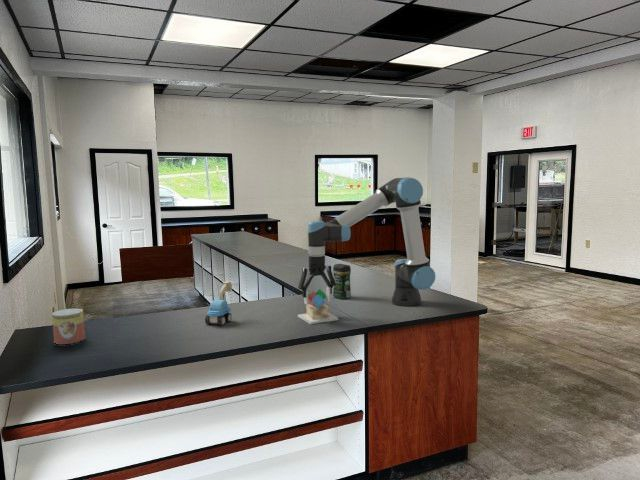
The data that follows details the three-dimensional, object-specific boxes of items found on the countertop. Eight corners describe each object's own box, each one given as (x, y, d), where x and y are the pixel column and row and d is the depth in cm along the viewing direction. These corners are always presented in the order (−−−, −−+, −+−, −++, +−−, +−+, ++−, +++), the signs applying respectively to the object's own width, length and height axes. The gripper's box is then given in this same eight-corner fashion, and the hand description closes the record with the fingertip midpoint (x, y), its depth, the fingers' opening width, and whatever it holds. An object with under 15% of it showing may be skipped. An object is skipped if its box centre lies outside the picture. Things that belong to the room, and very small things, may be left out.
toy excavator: (239, 317, 226) (238, 281, 224) (220, 327, 210) (219, 288, 208) (223, 315, 229) (222, 280, 227) (203, 325, 213) (202, 287, 211)
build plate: (324, 312, 231) (324, 310, 231) (338, 319, 218) (338, 317, 218) (297, 316, 224) (297, 314, 224) (310, 324, 212) (310, 322, 212)
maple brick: (322, 313, 226) (322, 302, 226) (328, 317, 219) (328, 306, 218) (306, 315, 223) (306, 304, 223) (312, 319, 216) (312, 308, 215)
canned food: (52, 346, 187) (50, 316, 185) (55, 338, 197) (53, 310, 196) (84, 342, 191) (82, 313, 190) (86, 334, 201) (84, 307, 200)
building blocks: (319, 314, 223) (317, 305, 213) (307, 302, 226) (305, 292, 216) (331, 303, 226) (330, 293, 215) (319, 291, 229) (318, 281, 218)
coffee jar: (330, 297, 263) (330, 263, 260) (341, 295, 268) (341, 262, 266) (342, 300, 255) (342, 266, 253) (353, 297, 260) (353, 264, 258)
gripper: (335, 252, 227) (335, 297, 229) (290, 256, 216) (291, 303, 219) (342, 254, 220) (343, 301, 222) (296, 258, 209) (297, 307, 212)
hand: (317, 302), depth 221 cm, fingers open, 11 cm apart
